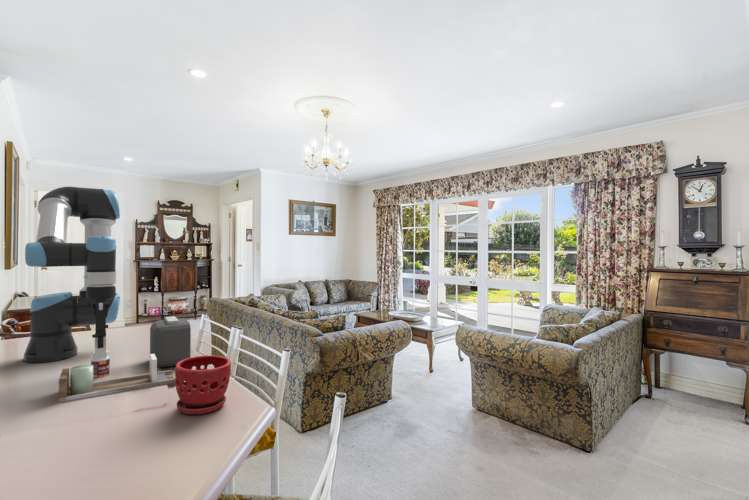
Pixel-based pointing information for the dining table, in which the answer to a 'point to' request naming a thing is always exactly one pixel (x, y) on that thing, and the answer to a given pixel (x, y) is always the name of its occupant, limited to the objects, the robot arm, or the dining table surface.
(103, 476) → the dining table surface
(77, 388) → the pale green rounded block
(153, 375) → the paddle
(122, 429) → the dining table surface
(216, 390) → the plant pot
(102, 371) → the pill bottle
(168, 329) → the alarm clock
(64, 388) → the tray
